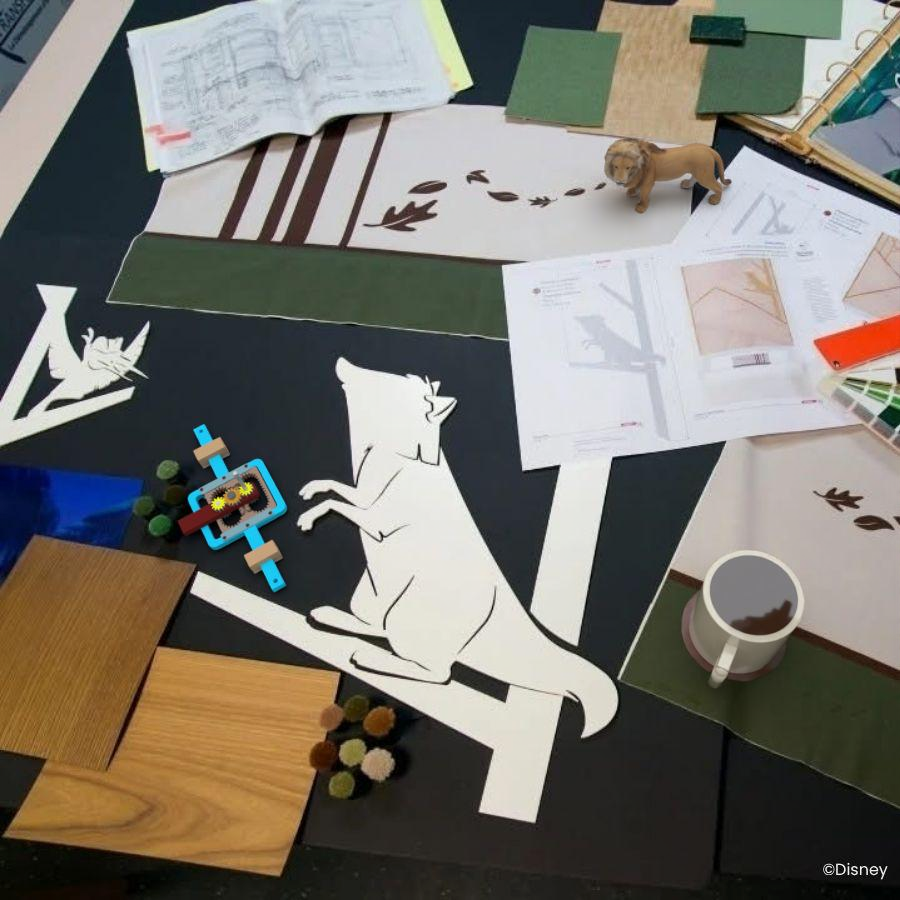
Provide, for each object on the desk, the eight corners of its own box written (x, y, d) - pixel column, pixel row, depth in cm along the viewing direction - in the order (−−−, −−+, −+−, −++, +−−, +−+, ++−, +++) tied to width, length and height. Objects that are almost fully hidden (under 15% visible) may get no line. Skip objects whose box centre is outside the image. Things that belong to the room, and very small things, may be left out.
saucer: (813, 572, 73) (816, 567, 72) (816, 727, 67) (819, 724, 66) (657, 551, 75) (658, 546, 74) (645, 699, 69) (646, 696, 68)
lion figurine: (607, 228, 95) (612, 164, 87) (595, 195, 98) (598, 130, 90) (738, 201, 95) (754, 134, 87) (721, 168, 98) (736, 101, 90)
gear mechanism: (226, 621, 76) (320, 569, 78) (205, 600, 72) (305, 544, 73) (153, 458, 86) (237, 414, 88) (129, 429, 81) (219, 384, 83)
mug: (707, 574, 73) (722, 534, 66) (792, 610, 70) (818, 573, 63) (664, 674, 69) (676, 642, 62) (753, 716, 67) (776, 688, 60)
